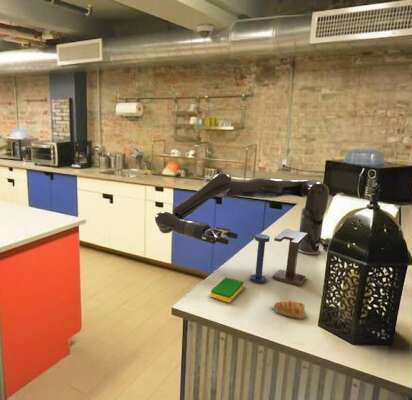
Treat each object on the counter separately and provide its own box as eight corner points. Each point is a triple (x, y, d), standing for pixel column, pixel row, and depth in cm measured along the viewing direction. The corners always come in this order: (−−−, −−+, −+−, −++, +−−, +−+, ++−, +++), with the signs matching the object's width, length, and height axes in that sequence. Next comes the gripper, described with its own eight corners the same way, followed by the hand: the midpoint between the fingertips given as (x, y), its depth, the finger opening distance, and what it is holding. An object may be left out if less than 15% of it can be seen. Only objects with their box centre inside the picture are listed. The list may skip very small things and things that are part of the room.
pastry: (274, 315, 119) (275, 304, 118) (272, 305, 125) (273, 295, 125) (305, 320, 117) (307, 309, 116) (302, 309, 123) (303, 299, 122)
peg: (253, 275, 148) (257, 232, 143) (267, 279, 144) (272, 235, 140) (248, 280, 143) (252, 236, 139) (262, 284, 140) (267, 239, 136)
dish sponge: (243, 288, 137) (244, 282, 137) (229, 303, 127) (229, 296, 126) (225, 282, 141) (226, 276, 141) (210, 296, 131) (210, 290, 130)
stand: (279, 271, 151) (284, 227, 147) (305, 278, 145) (311, 232, 141) (266, 284, 140) (271, 237, 135) (294, 293, 134) (300, 243, 129)
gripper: (188, 225, 151) (226, 234, 141) (205, 218, 161) (241, 225, 152) (187, 243, 153) (224, 252, 143) (204, 234, 163) (239, 243, 153)
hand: (233, 239), depth 147 cm, fingers open, 8 cm apart
